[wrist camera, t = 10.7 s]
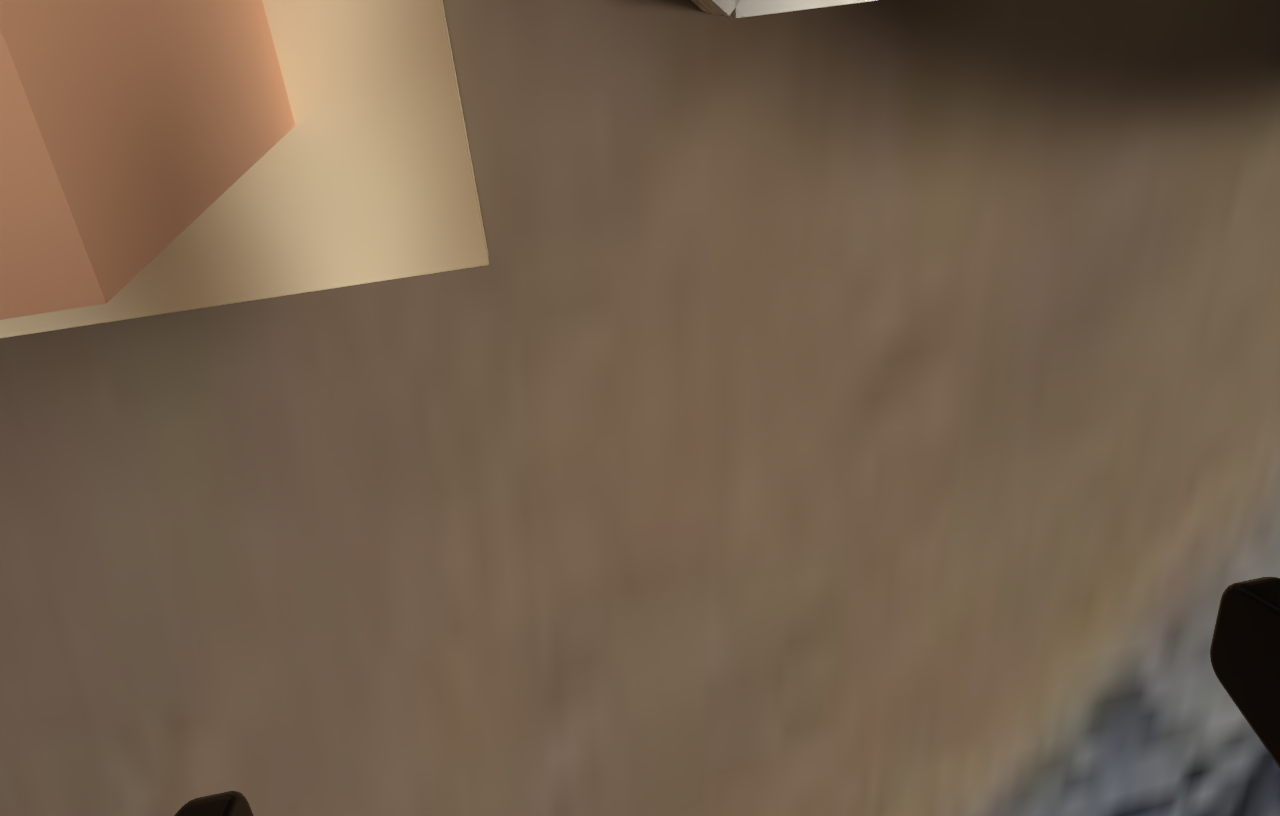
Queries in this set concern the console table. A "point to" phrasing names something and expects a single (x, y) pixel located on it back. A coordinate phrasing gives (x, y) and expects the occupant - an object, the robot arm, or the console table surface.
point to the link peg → (122, 135)
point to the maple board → (328, 173)
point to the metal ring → (764, 6)
